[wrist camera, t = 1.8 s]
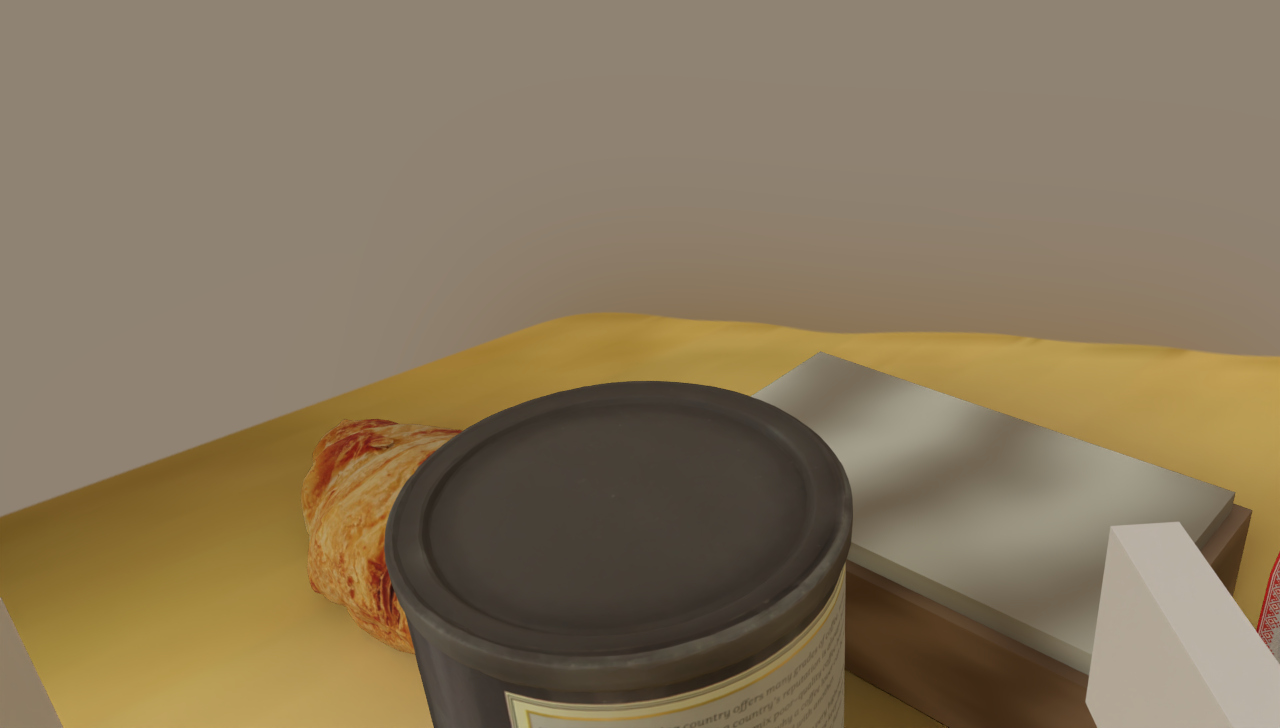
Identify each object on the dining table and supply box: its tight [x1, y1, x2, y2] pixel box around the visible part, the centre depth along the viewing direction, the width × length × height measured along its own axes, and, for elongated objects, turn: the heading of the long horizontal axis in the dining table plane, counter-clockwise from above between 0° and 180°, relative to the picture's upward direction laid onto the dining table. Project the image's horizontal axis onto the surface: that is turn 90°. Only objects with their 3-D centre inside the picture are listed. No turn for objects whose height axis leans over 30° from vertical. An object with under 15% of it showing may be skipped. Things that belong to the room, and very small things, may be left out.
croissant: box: [301, 419, 462, 654], centre depth 43 cm, size 21×10×8 cm, turn 36°
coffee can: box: [384, 381, 853, 728], centre depth 27 cm, size 10×10×14 cm
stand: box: [751, 352, 1252, 728], centre depth 40 cm, size 18×11×5 cm, turn 45°
